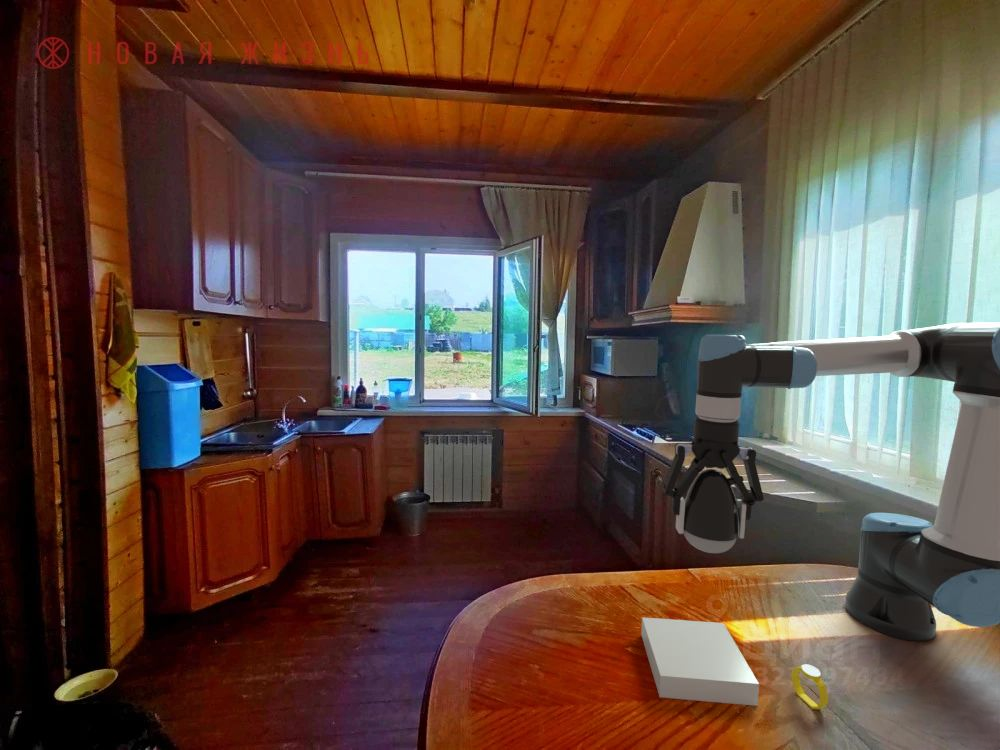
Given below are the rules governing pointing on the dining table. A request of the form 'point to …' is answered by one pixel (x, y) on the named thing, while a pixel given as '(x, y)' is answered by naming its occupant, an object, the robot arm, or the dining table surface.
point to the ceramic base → (698, 662)
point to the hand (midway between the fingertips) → (708, 532)
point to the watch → (816, 676)
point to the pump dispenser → (711, 512)
